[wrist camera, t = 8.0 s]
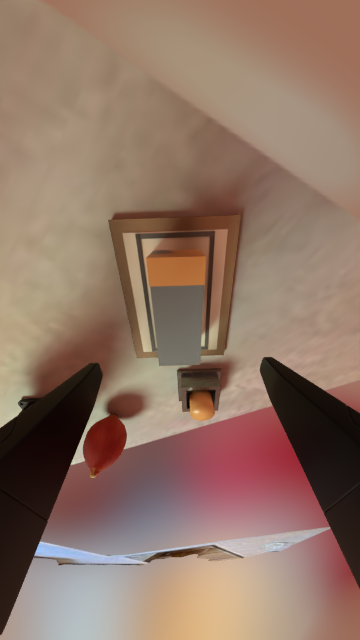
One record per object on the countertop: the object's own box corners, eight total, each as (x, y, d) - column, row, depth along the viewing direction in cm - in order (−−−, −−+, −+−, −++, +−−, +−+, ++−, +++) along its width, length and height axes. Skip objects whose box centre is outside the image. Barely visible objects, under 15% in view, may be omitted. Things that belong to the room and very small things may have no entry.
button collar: (178, 398, 26) (179, 413, 24) (177, 370, 23) (177, 385, 21) (217, 396, 26) (221, 412, 24) (220, 368, 23) (225, 383, 21)
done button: (189, 403, 24) (190, 420, 21) (189, 389, 22) (190, 406, 20) (210, 402, 23) (213, 420, 21) (211, 388, 22) (215, 405, 20)
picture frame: (137, 354, 22) (136, 359, 21) (110, 220, 14) (107, 219, 14) (222, 351, 22) (224, 355, 21) (238, 215, 14) (241, 214, 14)
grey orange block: (162, 340, 20) (158, 366, 16) (153, 250, 15) (145, 258, 11) (196, 339, 20) (200, 364, 16) (199, 249, 15) (206, 256, 11)
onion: (133, 425, 29) (119, 487, 22) (100, 425, 29) (75, 487, 22) (129, 405, 27) (113, 468, 20) (93, 404, 26) (63, 468, 19)
